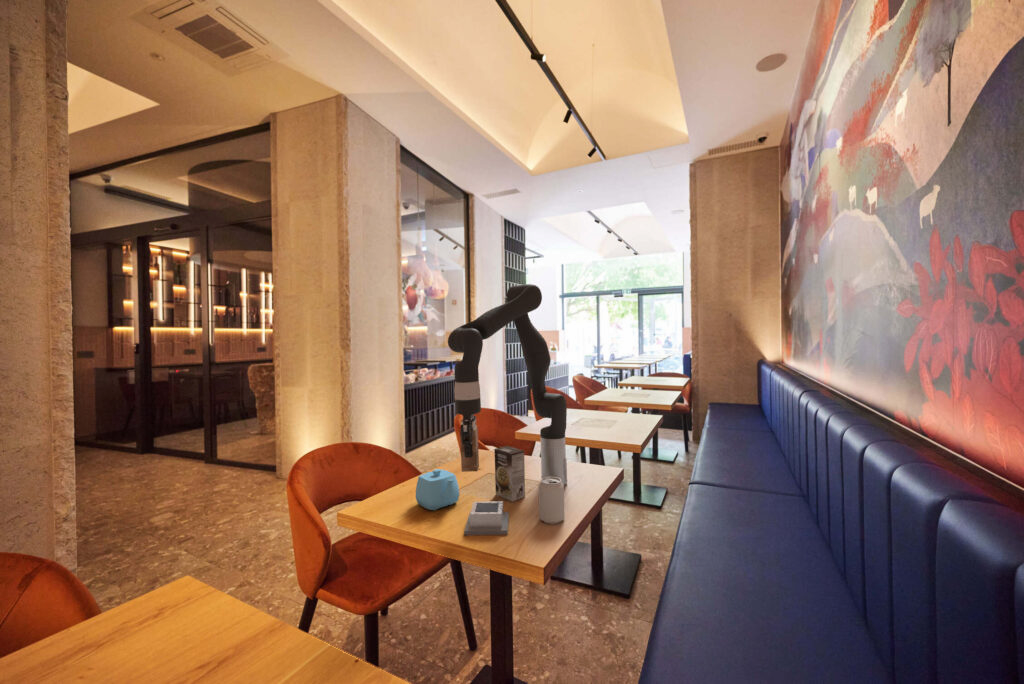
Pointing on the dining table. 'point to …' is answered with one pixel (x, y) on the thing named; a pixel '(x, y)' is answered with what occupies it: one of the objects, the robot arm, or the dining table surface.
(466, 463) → the long tan beam
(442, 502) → the teapot
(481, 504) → the dock
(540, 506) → the can
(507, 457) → the coffee box
